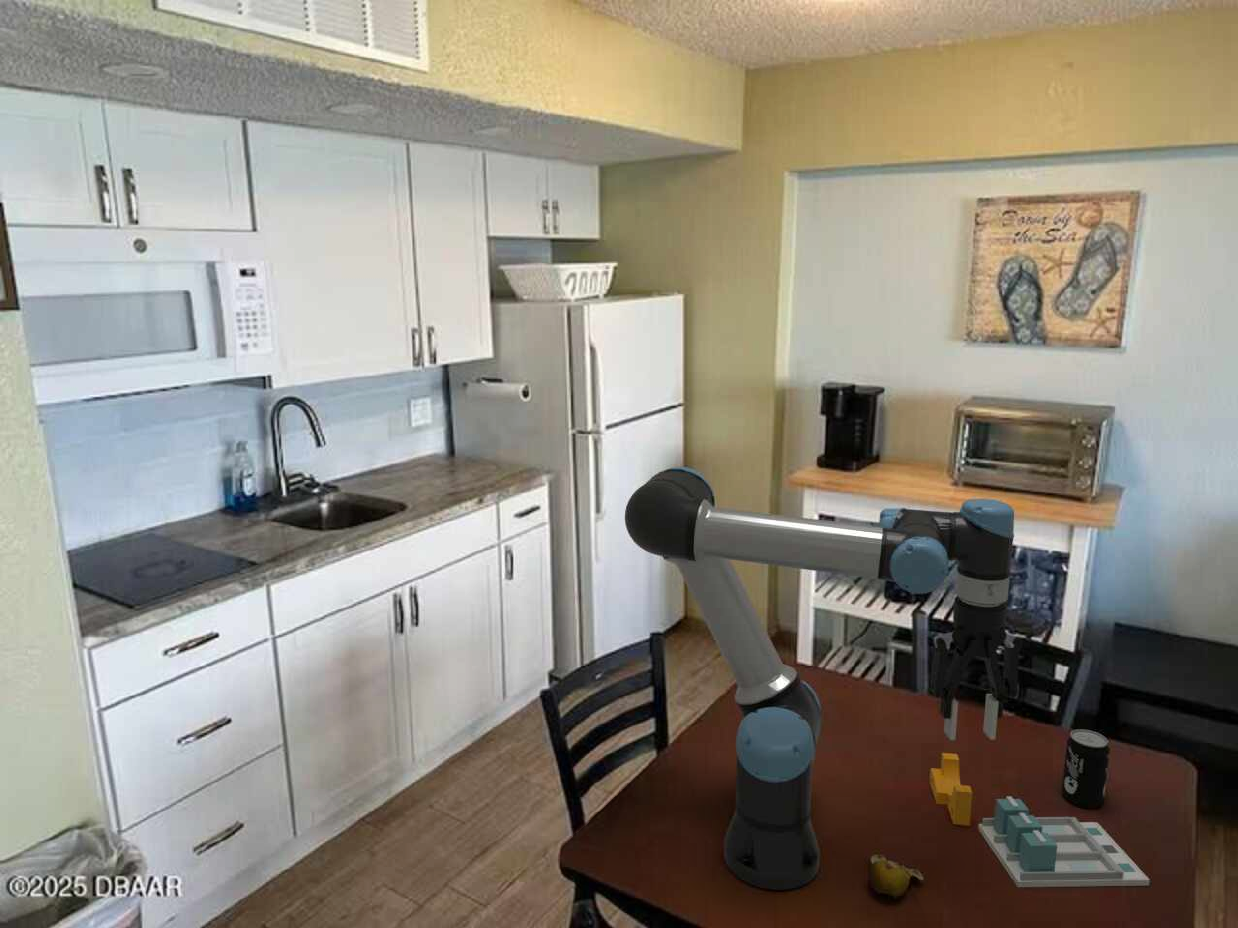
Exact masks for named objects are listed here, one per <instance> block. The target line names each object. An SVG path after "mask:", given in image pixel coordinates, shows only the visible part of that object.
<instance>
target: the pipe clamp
mask: <svg viewBox="0 0 1238 928" xmlns="http://www.w3.org/2000/svg"><path fill="white" fill-rule="evenodd" d="M960 778H961V776H960V758H959V755H958V753H949V752H942V753H941V763H940V768H934V767H933V768H932V767H931V768H930V775H929V785H930V787H931V791H932V793H933V797H934V799H935V803H936V804H935V805H943V806H945V805H946V806H947V809H948V812H949V815H950V818H951V821H952V824H953V825H958V826H969V827H970V825H971V813H972V803H973V794H974V793H973V791H972V788H971V786H970V785H965V784H964V785H963V784H961V779H960Z"/></svg>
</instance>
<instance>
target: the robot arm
mask: <svg viewBox="0 0 1238 928" xmlns="http://www.w3.org/2000/svg"><path fill="white" fill-rule="evenodd" d="M715 501H716V499H715V492H714V489H713V488H712V485H711V483H710V482H709V481H708V479H707V478H706V477H705V475H703V473H702V474H701V473H700V472H699V471H698V470H695V469H692V468H690V467H686V466H685V467H684V466H673V467H669V468H667V469H665V470H662V471H659V472H657V473H656V474H654V475H653V476H651V477H650V479H649V480H648V481H646V483H645V484H643V485H641V486H640V487H639V488H637V489H636V490H635V491H634V492H633V494H632V495H630V498H629V499H628V501H627V503H626V507H625V509H624V524H625V528H626V531H627V532H628V535H629V537H630V538H631V540H632V541H633V542H634V544H636V545H637V546H638V547H639V548H640V549H642V550H643V551H645V552H647V553H648V554H649V553H650V554H652V555H656V556H659V557H662V558H663V561H666V562H670V563H672V564H675V565H676V566H677V568H678V570H679V572H680V575H681V576H682V578H683V580H684V582H685V584H686V586H687V588H688V590H689V592H690V593H691V596H692V598H693V600H694V602H695V604H696V606H697V607H698V609H699V612H700V614H701V616H702V617H703V620H704V622H705V624H706V625H707V627H708V629H709V631H710V633H711V635H712V637H713V639H714V641H715V643H716V645H717V647H718V649H719V650H720V653H721V655H722V657H723V659H724V661H725V663H726V665H727V667H728V669H729V671H730V673H731V675H732V677H733V679H734V680H735V683H736V684H737V689H736V691H735V694H734V700H735V702H736V704H737V706H738V708H739V710H740V712H741V714H742V716H743V719H742V720H741V721H740V723H739V726H738V730H737V733H736V738H735V739H736V740H735V748H736V751H735V752H736V776H735V777H736V780H735V781H736V783H735V785H736V786H735V811H734V813H733V815H732V819H731V820H730V823H729V825H728V828H727V831H726V832H725V833H726V834H725V837H724V840H723V857H724V861H725V863H726V866H727V867H728V868H729V870H730V872H731V873H733V874H734V875H735V876H736V877H737V878H739V879H740V880H741V881H744V883H747V884H750V885H752V886H755V887H757V888H761V889H765V890H766V889H767V890H774V891H785V890H787V891H788V890H792V889H796V888H800V887H802V886H804V885H806V884H808V883H810V881H812V880H813V879H815V877H816V875H817V874H818V873H819V867H820V855H821V854H820V847H819V843H818V840H817V836H816V834H815V830H814V827H813V824H812V821H811V799H812V797H811V796H812V795H811V794H812V776H813V767H814V762H815V757H816V752H817V751H816V750H817V747H818V740H819V737H820V731H821V729H822V723H823V716H822V709H821V703H820V700H819V698H818V695H817V693H816V692H815V691H814V689H813V688H812V687H811V686H810V685H809V683H807V682H806V681H804V680H801V678H800V676H799V674H798V672H797V671H796V669H795V668H794V667H793V666H790V665H786V664H785V663H784V664H783V662H782V660H781V658H780V656H779V654H778V652H777V649H776V648H775V646H774V644H773V642H772V639H771V638H770V635H769V634H768V632H767V630H766V628H765V626H764V624H763V622H762V620H761V618H760V616H759V614H758V612H757V610H756V608H755V607H754V604H753V602H752V600H751V599H750V596H749V594H748V592H747V590H746V589H745V586H744V584H743V583H742V581H741V578H740V577H739V574H738V572H737V570H736V569H735V567H734V565H733V563H732V561H733V560H734V561H740V562H748V563H749V562H750V563H754V564H761V565H770V566H776V567H777V566H779V567H783V568H794V569H798V570H799V569H800V570H807V571H814V572H822V573H828V574H829V573H830V574H836V575H844V576H849V577H850V576H851V577H858V578H859V577H860V578H866V579H875V580H881V581H887V582H888V581H889V582H894V583H896V585H898V586H899V588H901V589H902V590H904V591H906V592H908V593H910V594H917V595H921V594H922V595H923V594H928V593H932V592H933V591H935V590H937V589H938V588H940V586H941V585H942V584H943V582H944V581H945V579H946V578H947V574H948V572H949V571H948V570H949V568H948V567H949V562H952V561H954V562H957V565H956V575H955V576H956V577H955V587H954V594H955V595H956V597H954V599H953V600H954V602H953V614H952V622H953V623H952V626H951V627H950V629H949V631H948V632H947V633H944V634H939V633H936V632H935V633H933V634H932V636H931V639H932V640H931V641H932V643H933V657H932V662H931V663H932V664H931V671H930V681H929V686H928V687H929V690H930V691H931V693H932V694H933V695H934V696H935V698H937V699H940V706H939V713H940V715H941V716H942V718H943V719H944V724H943V725H944V726H943V732H944V733H945V735H946V736H947V737H948V739H949V740H950V741H956V734H957V723H958V710H959V702H958V701H957V700H956V698H955V696H956V694H957V691H958V688H959V686H960V685H961V681H962V679H963V676H964V674H965V671H966V669H967V666H968V665H969V664H971V662H972V659H973V658H974V659H975V658H978V657H980V658H983V661H984V665H985V670H986V674H987V678H988V681H989V687H990V690H991V693H986V694H985V704H984V706H985V707H984V716H983V717H984V718H983V726H982V727H983V729H982V731H983V733H984V734H985V735H986V736H987V738H989V740H991V741H992V740H994V741H995V740H996V736H997V735H996V734H997V725H998V724H997V722H998V719H1001V718H1003V713H1004V704H1007V702H1008V701H1009V698H1010V697H1011V698H1015V697H1017V695H1018V689H1019V669H1020V668H1019V665H1020V652H1021V650H1022V647H1023V645H1024V640H1023V638H1021V637H1020V636H1019V635H1018V634H1017V633H1015V632H1013V631H1012V632H1010V633H1008V632H1007V631H1006V629H1005V625H1006V620H1007V611H1008V605H1007V603H1006V601H1008V599H1009V597H1008V596H1009V586H1010V576H1011V563H1012V554H1013V546H1014V539H1015V532H1014V528H1015V526H1014V525H1015V511H1014V508H1012V506H1011V505H1010V504H1009V503H1006V502H1004V501H1002V500H996V499H990V498H969V499H966V500H965V501H963V502H962V504H961V508H960V509H959V511H954V512H950V511H949V512H948V511H936V510H924V509H909V508H906V507H901V508H885V509H882V510H881V511H880V513H879V524H878V526H874V525H865V524H858V523H857V524H856V523H851V522H849V523H848V522H843V521H842V522H841V521H832V520H825V519H824V520H823V519H816V518H806V517H799V516H790V515H782V514H781V515H780V514H775V513H774V514H772V513H765V512H756V511H749V510H748V511H747V510H740V509H732V508H723V507H715V506H716V505H715V503H716V502H715ZM731 560H732V561H731ZM952 642H953V643H954V644H955V648H954V651H953V658H952V660H951V663H950V665H949V666H948V670H947V665H948V657H949V655H948V653H949V652H948V650H949V649H950V648H951V643H952ZM1002 644H1004V649H1003V650H1004V651H1003V653H1004V654H1003V672H1002V673H1003V675H1001V669H1000V667H999V656H998V652H997V649H998V648H1000V646H1001V645H1002ZM946 672H947V673H946Z"/></svg>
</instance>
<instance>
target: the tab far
mask: <svg viewBox="0 0 1238 928" xmlns="http://www.w3.org/2000/svg"><path fill="white" fill-rule="evenodd" d="M1029 812H1030V809H1029V808H1028V807H1027V805H1026V804H1025V803H1024V802H1023V801H1022V800H1021V798H1013V797H1012V796H1006V797H1005V798H996V799H995V805H994V815H993V816H994V817H993V818H994V828H995V829H996V830H997V832H998V833H999V835H1007V824H1008V816H1016V815H1019V813H1025V815H1029Z"/></svg>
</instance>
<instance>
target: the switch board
mask: <svg viewBox="0 0 1238 928" xmlns="http://www.w3.org/2000/svg"><path fill="white" fill-rule="evenodd" d="M1034 817H1035V816H1034ZM1035 818H1036V819H1037V821H1038V822H1039V823H1040V824H1041V826H1042V827H1043V829H1042V833H1048V834H1049V836H1050V837H1051V838H1052V839H1053V841H1054V842H1055V843H1056V844H1057V853H1056V862H1055V871H1048V872H1026V871H1025V870H1024V868H1023V867H1022V865H1021V864H1020V863H1019V853H1012V851H1011V850H1010V849H1009V847H1008V846H1007V844H1006V835H999V833H998V832H997V830H996V829H995V828H994V817H983V818H982V819H981V821H982V822H981V823H978V825H977V830H978V831H979V832H980V834H981V836H982V837H983V838H984V840H985V842H986V843H987V844H988V846H989V847H990V849H991V851H992V852H993V853H994V855H995V856H996V857H997V859H998V860H999V862H1000V863H1001V865H1002V867H1003V868H1004V869H1005V871H1006V872H1007V874H1008V875H1009V877H1010V878H1011V879H1012V881H1013V883H1014V884H1015V886H1016V887H1017V888H1063V887H1064V888H1065V887H1067V888H1068V887H1069V888H1071V887H1073V888H1074V887H1077V888H1078V887H1079V888H1080V887H1139V886H1140V887H1141V886H1143V887H1145V886H1146V887H1147V886H1148V887H1149V886H1150V880H1151V879H1150V878H1149V877H1148V876H1147V875H1146V874H1145V873H1144V872H1143V871H1142V870H1141V869H1140V867H1138V865H1137V864H1136V863H1135V862H1134V861H1133V860H1132V859H1131V858H1130V856H1129V855H1128V854H1127V853H1126V852H1125V851H1124V850H1123V848H1121V847H1120V845H1119V844H1118V843H1116V841H1115V840H1114V838H1112V837H1111V835H1109V834H1108V833H1107V831H1106V830H1105V829H1104V828H1103V827H1102V825H1100V824H1099V823H1098V822H1096V821H1095V822H1094V821H1089V822H1088V821H1086V822H1081V821H1079V820H1078V819H1077V817H1075V816H1046V817H1045V816H1041V817H1040V816H1038V817H1035Z"/></svg>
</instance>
